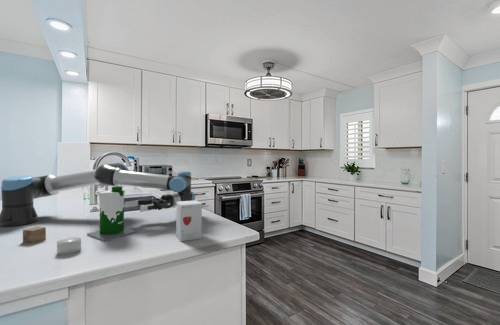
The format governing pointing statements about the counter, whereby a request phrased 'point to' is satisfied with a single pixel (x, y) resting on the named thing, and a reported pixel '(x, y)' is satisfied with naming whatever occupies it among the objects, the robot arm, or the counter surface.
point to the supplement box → (189, 220)
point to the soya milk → (112, 210)
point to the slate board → (110, 236)
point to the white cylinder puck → (68, 246)
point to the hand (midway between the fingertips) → (132, 206)
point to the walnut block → (34, 234)
